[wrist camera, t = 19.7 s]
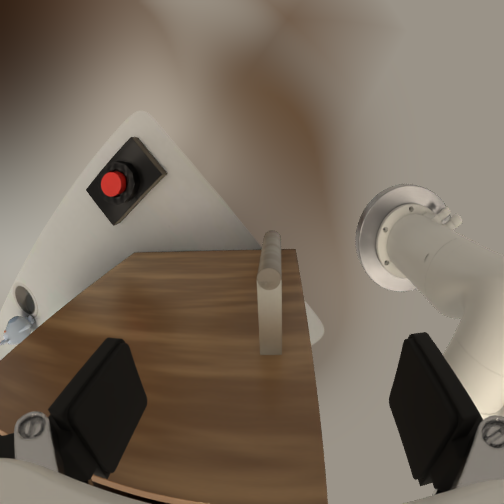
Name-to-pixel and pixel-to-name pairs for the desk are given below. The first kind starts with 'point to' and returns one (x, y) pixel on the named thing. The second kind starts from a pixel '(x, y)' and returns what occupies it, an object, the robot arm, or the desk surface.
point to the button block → (127, 180)
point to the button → (113, 183)
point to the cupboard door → (194, 374)
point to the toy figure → (17, 330)
